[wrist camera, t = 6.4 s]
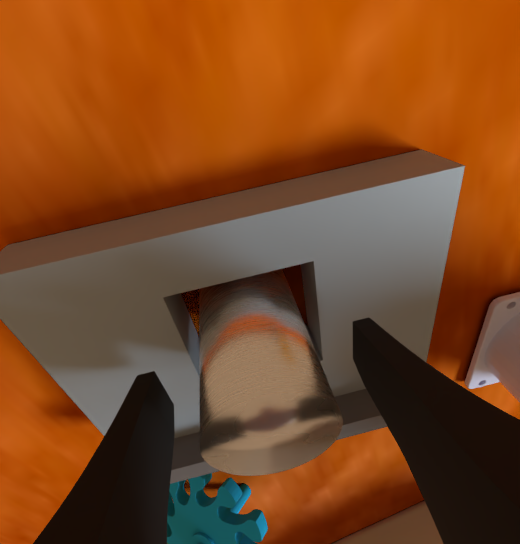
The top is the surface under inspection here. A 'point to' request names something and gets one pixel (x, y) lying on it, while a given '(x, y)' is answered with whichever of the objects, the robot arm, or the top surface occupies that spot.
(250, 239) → the plate
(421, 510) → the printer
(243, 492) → the gear
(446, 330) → the top surface
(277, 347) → the cylindrical peg
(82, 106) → the top surface
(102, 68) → the top surface
